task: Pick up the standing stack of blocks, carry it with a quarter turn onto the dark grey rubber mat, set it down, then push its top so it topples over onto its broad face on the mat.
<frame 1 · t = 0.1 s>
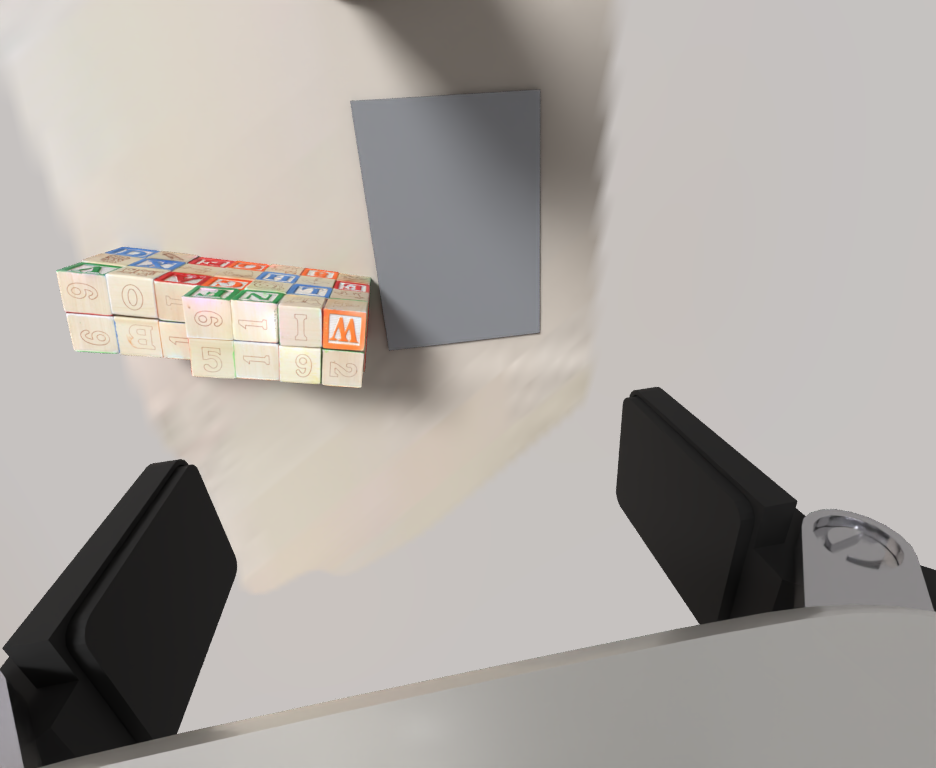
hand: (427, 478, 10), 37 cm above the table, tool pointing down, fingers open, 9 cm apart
mat: (457, 231, 43), on the table
stack of blocks: (256, 294, 43), on the table
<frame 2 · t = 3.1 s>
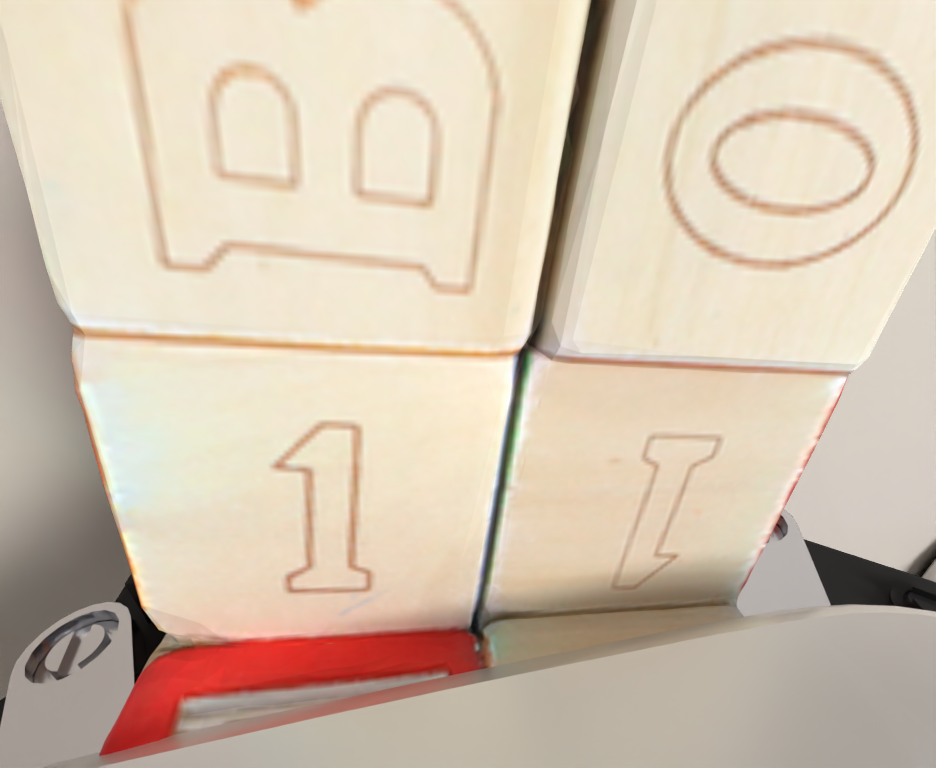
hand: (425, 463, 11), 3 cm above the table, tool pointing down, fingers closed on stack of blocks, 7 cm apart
stack of blocks: (419, 378, 14), on the table, touching gripper
when the fingers open (4 cm above the table, at t = 9.0 s): stack of blocks stays where it is, resting on mat.
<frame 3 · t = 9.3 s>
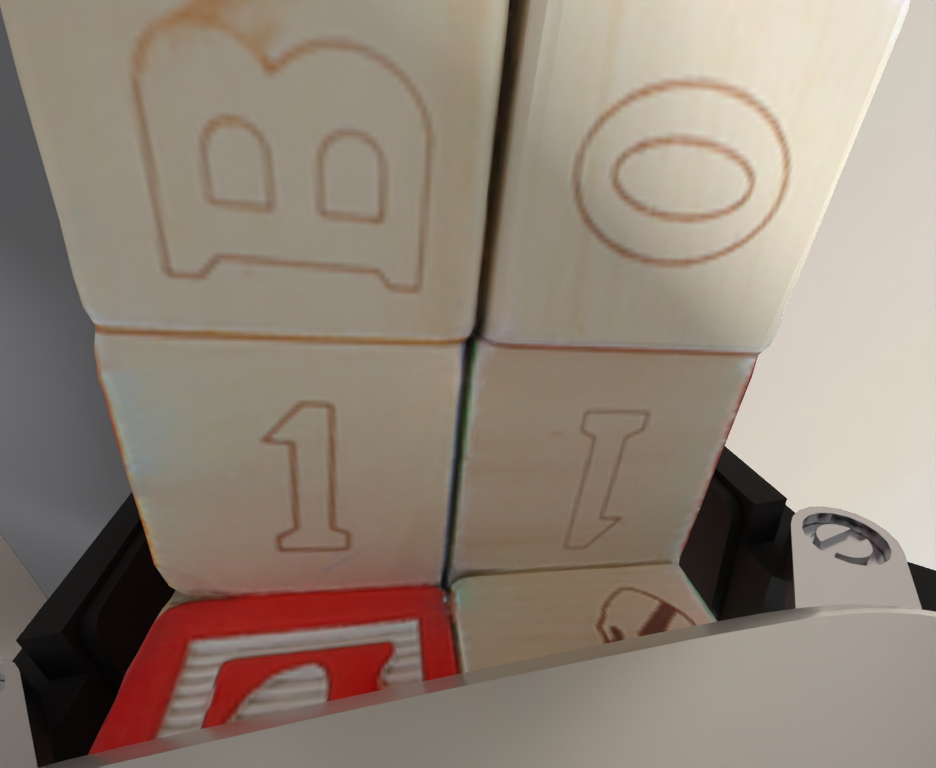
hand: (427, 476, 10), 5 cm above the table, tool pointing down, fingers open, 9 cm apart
mat: (238, 405, 14), on the table
stack of blocks: (410, 373, 14), resting on mat
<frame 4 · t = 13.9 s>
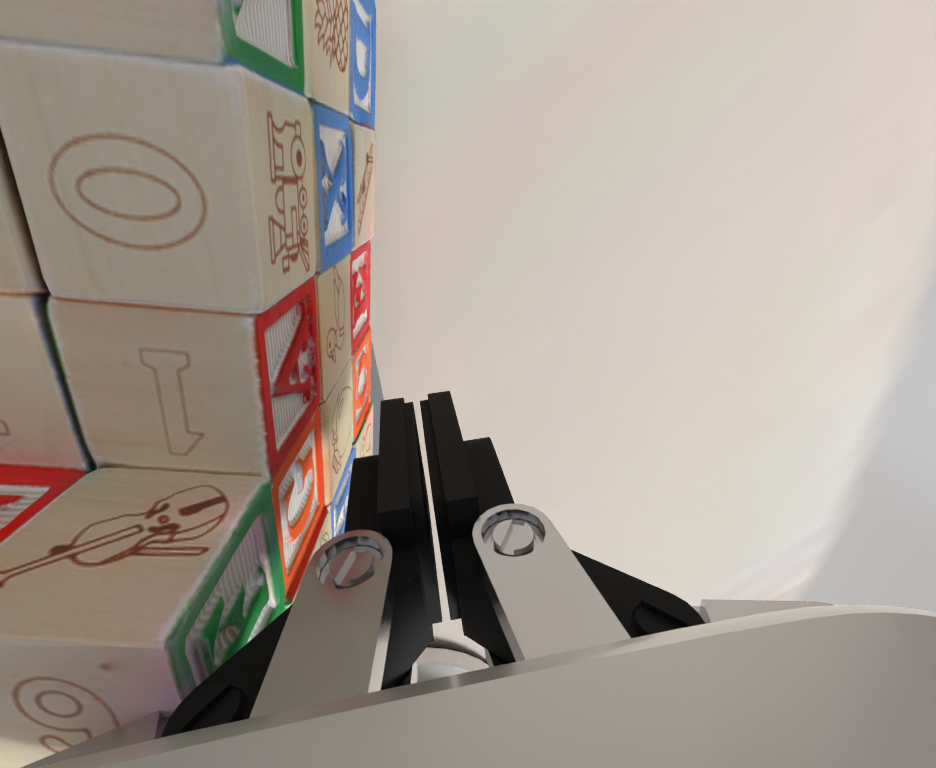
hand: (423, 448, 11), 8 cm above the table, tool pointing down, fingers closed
mat: (159, 379, 17), on the table
stack of blocks: (290, 354, 17), point 1 cm above the table, touching gripper, mat
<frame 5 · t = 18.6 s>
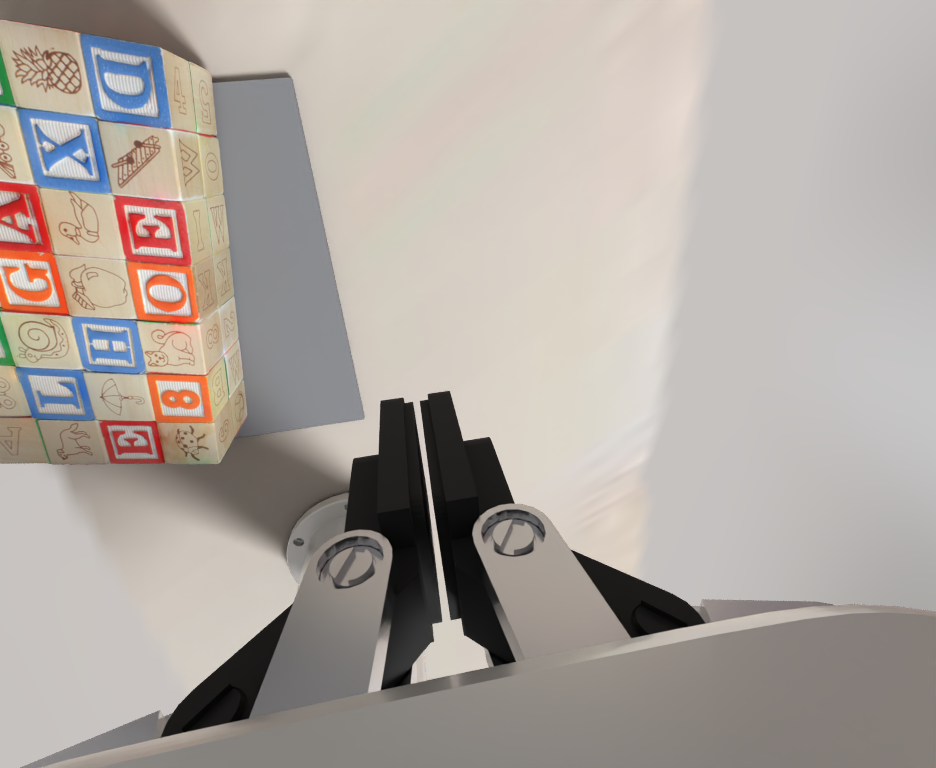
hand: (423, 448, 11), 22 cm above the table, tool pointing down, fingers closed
mat: (209, 289, 30), on the table
stack of blocks: (221, 282, 26), point 4 cm above the table, touching mat
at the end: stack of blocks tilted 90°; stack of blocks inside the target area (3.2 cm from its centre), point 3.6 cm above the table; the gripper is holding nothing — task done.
